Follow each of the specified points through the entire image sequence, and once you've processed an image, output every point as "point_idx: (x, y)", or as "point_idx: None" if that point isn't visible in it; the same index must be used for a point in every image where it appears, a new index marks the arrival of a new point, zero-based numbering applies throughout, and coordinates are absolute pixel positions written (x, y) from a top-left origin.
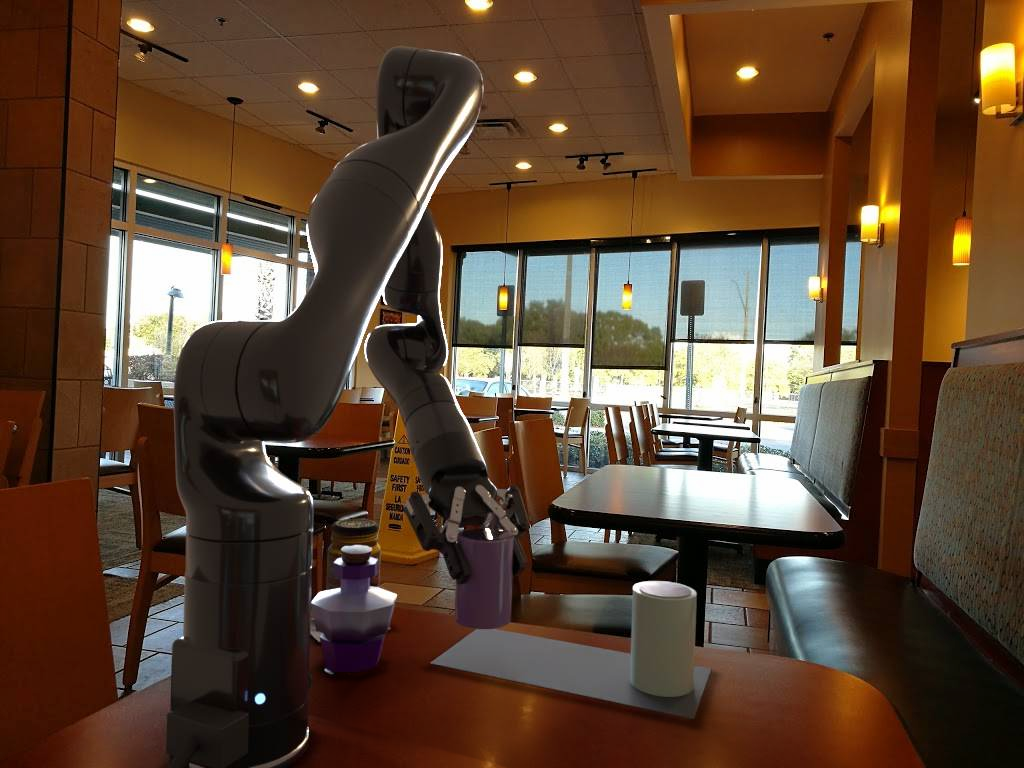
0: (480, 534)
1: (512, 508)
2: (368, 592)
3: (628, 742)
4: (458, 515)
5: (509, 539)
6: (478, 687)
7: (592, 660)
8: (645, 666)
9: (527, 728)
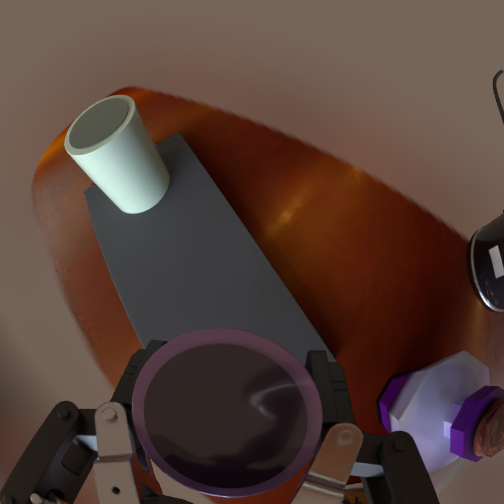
0: (242, 426)
1: (55, 476)
2: (452, 400)
3: (244, 137)
4: (306, 502)
5: (182, 335)
6: (307, 286)
7: (149, 262)
8: (161, 161)
9: (307, 187)
